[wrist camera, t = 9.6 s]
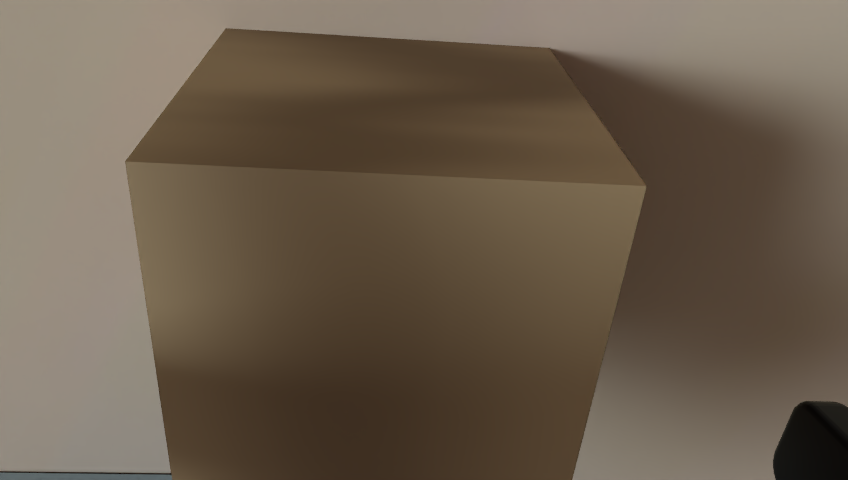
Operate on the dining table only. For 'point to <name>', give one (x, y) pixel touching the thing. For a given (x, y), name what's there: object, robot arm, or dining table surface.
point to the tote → (81, 476)
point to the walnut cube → (379, 259)
